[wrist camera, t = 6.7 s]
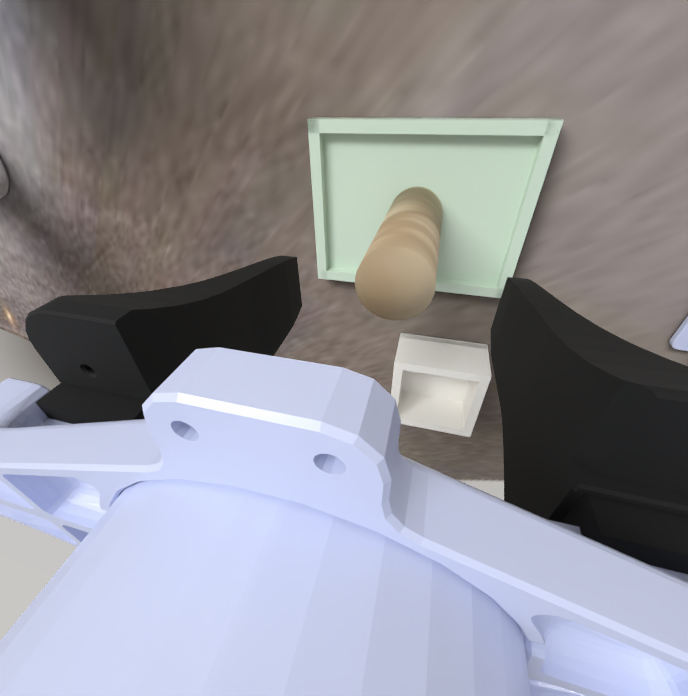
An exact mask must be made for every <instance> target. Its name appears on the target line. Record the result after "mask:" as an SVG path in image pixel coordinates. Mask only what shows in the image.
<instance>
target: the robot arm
mask: <svg viewBox="0 0 688 696" xmlns="http://www.w3.org/2000/svg"><path fill="white" fill-rule="evenodd" d="M301 307H302V301H301V292H300V283H299V273H298V264H297V257H290V256H277V257H273V258H269V259H266V260H263V261H260V262H257V263H255V264H252V265H249V266H247V267H244V268H241V269H238V270H235V271H232V272H229V273H226V274H223V275H220V276H217V277H214V278H211V279H208V280H204V281H200V282H196V283H192V284H188V285H183V286H178V287H172V288H166V289H160V290H154V291H146V292H137V293H126V294H111V295H78V296H61V297H58V298H56V299H54V300H52V301H50V302H48V303H46V304H45V305H43V306H41V307H39V308H37V309H35V310H34V311H32V312H30V313H29V314H28V316H27V317H26V332H27V335H28V337H29V340H30V341H31V343H32V344H33V346H34V348H35V349H36V350H37V352H38V353H39V354H40V356H41V357H42V358H43V360H44V361H45V362H46V364H47V365H48V366H49V368H50V369H51V370H52V372H53V373H54V374H55V376H56V377H57V378H58V379H59V381H60V382H62V383H60V384H59V385H58V386H56V387H55V388H54V389H53V390H51V391H50V390H49V389H48V388H46V387H45V386H43V385H40V384H36V383H32V382H28V381H23V380H19V379H14V378H7V379H6V380H4V381H3V382H1V383H0V516H3V517H6V518H8V519H11V520H13V521H16V522H19V523H21V524H24V525H26V526H29V527H31V528H34V529H36V530H39V531H41V532H43V533H46V534H48V535H51V536H53V537H55V538H58V539H60V540H62V541H65V542H67V543H69V544H72V545H74V546H76V547H77V548H76V549H75V551H74V552H73V553H72V554H71V555H70V557H69V558H68V559H67V560H66V561H65V563H64V564H63V565H62V566H61V568H60V569H59V570H58V571H57V573H56V574H55V575H54V576H53V577H52V579H51V580H50V581H49V582H48V583H47V585H46V586H45V587H44V589H42V591H41V592H40V593H39V594H38V596H37V597H36V598H35V599H34V601H33V602H32V603H31V604H30V605H29V607H28V608H27V609H26V610H25V611H24V613H23V614H22V615H21V616H20V618H19V619H18V620H17V621H16V622H15V624H14V625H13V626H12V627H11V629H10V630H9V631H8V632H7V633H6V635H5V636H4V637H3V638H2V640H1V641H0V696H688V367H687V366H685V365H682V364H679V363H677V362H674V361H671V360H669V359H666V358H664V357H661V356H659V355H657V354H654V353H652V352H650V351H647V350H645V349H642V348H640V347H638V346H636V345H634V344H631V343H629V342H627V341H625V340H623V339H621V338H619V337H617V336H615V335H614V334H612V333H610V332H608V331H606V330H604V329H602V328H600V327H599V326H597V325H595V324H594V323H592V322H590V321H589V320H587V319H586V318H584V317H582V316H581V315H579V314H578V313H576V312H575V311H573V310H572V309H570V308H569V307H568V306H566V305H565V304H563V303H562V302H561V301H559V300H558V299H556V298H555V297H554V296H552V295H551V294H550V293H548V292H547V291H546V290H544V289H543V288H542V287H540V286H539V285H537V284H536V283H534V282H533V281H531V280H529V279H522V278H511V277H507V280H506V283H505V286H504V289H503V293H502V296H501V299H500V302H499V305H498V309H497V312H496V315H495V318H494V321H493V324H492V328H491V356H492V362H493V368H494V373H495V379H496V384H497V389H498V395H499V400H500V406H501V413H502V426H503V446H504V500H501V499H499V498H497V497H495V496H492V495H490V494H488V493H486V492H483V491H481V490H479V489H476V488H474V487H472V486H469V485H467V484H465V483H463V482H461V481H458V480H456V479H454V478H452V477H449V476H447V475H445V474H443V473H440V472H438V471H436V470H433V469H431V468H429V467H427V466H424V465H422V464H420V463H418V462H415V461H413V460H411V459H409V458H406V457H404V456H402V455H401V454H400V452H399V446H398V440H399V433H400V425H401V419H400V415H399V411H398V407H397V403H396V399H395V398H393V397H392V396H391V395H390V394H389V393H388V392H387V391H386V390H385V389H384V388H383V387H382V386H381V385H380V384H379V383H378V382H377V381H375V380H374V379H372V378H370V377H367V376H364V375H362V374H359V373H356V372H353V371H351V370H348V369H345V368H342V367H336V366H330V365H324V364H318V363H312V362H306V361H300V360H294V359H288V358H281V357H275V356H274V354H275V353H276V351H277V350H278V348H279V347H280V345H281V344H282V342H283V341H284V339H285V338H286V336H287V335H288V333H289V332H290V330H291V328H292V327H293V325H294V323H295V321H296V319H297V317H298V314H299V312H300V309H301ZM670 345H671V346H672V347H673V348H674V349H677V350H684V351H688V316H687V318H686V319H685V320H684V322H683V323H682V324H681V326H680V327H679V328H678V330H677V331H676V332H675V334H674V335H673V337H672V338H671V339H670Z"/></svg>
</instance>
